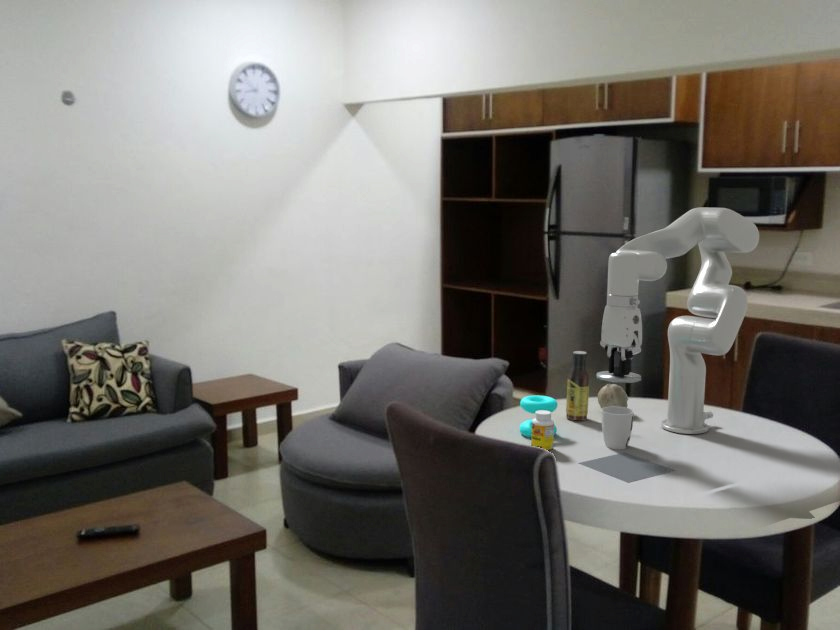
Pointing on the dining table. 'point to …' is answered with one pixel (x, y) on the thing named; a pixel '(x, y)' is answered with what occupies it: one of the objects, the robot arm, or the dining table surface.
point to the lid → (618, 373)
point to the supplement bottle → (542, 430)
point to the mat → (627, 467)
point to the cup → (617, 426)
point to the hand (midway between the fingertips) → (618, 373)
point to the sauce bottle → (578, 388)
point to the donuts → (533, 405)
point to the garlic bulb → (612, 396)
